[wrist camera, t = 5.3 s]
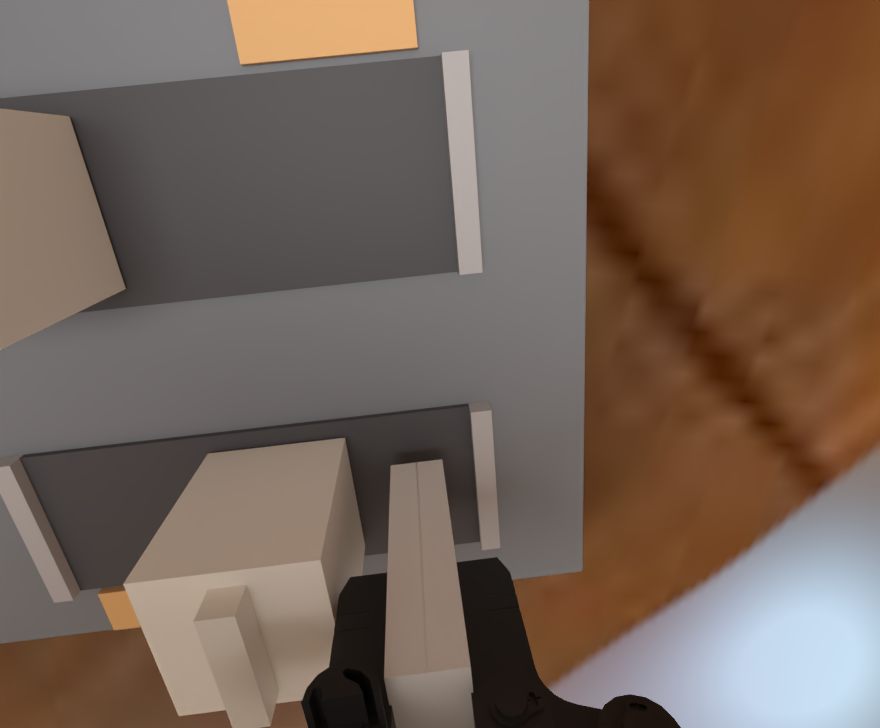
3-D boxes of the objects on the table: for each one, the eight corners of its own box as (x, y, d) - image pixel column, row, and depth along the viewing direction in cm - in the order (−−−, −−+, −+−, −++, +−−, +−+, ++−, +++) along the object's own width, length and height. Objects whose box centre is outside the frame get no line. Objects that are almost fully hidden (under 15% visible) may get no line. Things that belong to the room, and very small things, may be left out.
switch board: (38, 597, 20) (-13, 659, 17) (-244, 42, 13) (-393, 16, 10) (565, 532, 20) (588, 584, 18) (563, -33, 13) (598, -74, 11)
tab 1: (240, 560, 17) (163, 752, 11) (207, 453, 15) (102, 616, 10) (365, 545, 17) (347, 728, 11) (344, 437, 15) (314, 590, 10)
